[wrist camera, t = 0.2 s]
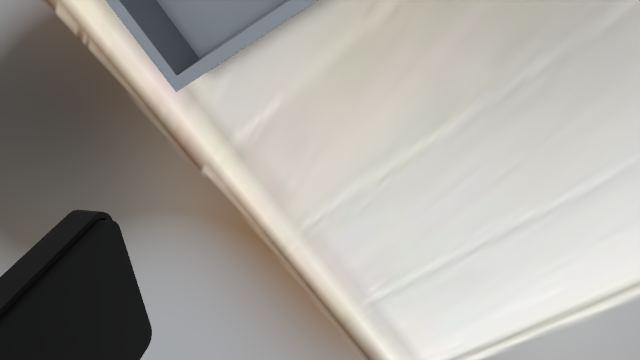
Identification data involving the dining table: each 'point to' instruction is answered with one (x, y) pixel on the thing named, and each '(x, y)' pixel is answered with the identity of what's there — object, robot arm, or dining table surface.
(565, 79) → the dining table surface
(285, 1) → the grey shallow tray
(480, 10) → the dining table surface
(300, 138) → the dining table surface
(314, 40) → the dining table surface
